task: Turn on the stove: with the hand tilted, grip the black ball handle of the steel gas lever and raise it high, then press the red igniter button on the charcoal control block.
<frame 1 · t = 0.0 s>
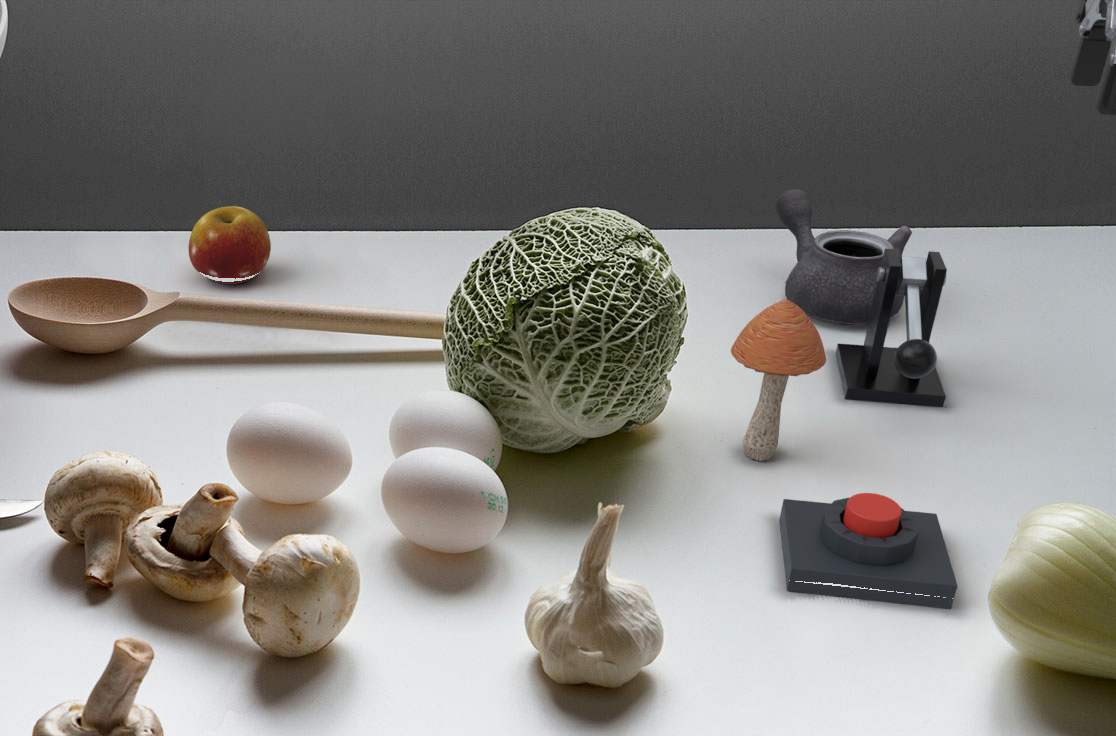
hand: (1096, 98, 106), 30 cm above the table, tool pointing down, fingers open, 8 cm apart
teapot: (827, 297, 146), on the table
mushroom: (760, 454, 117), on the table
gas lever: (913, 318, 120), point 9 cm above the table, hinge at -25.0°
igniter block: (860, 562, 103), on the table
fruit: (231, 279, 152), on the table
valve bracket: (887, 379, 129), on the table
igniter: (872, 515, 100), point 4 cm above the table, slide at 0.1 cm
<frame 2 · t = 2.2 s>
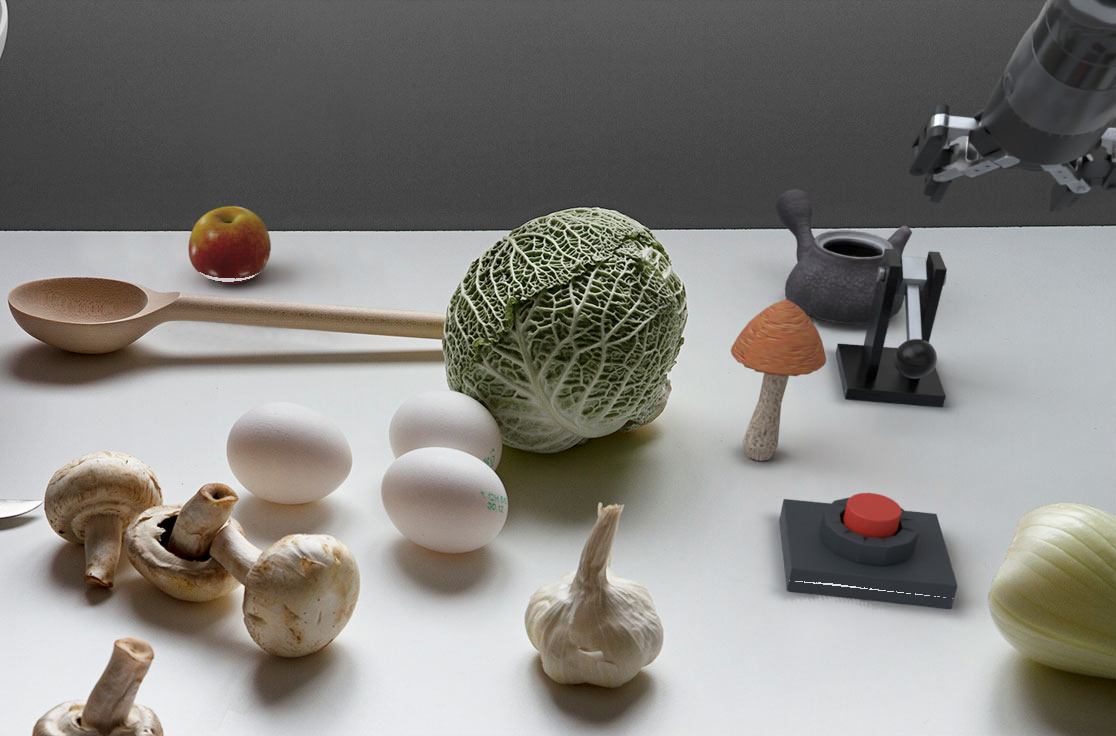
hand: (994, 196, 99), 26 cm above the table, tool tilted 45°, fingers open, 8 cm apart
nothing on the table moved.
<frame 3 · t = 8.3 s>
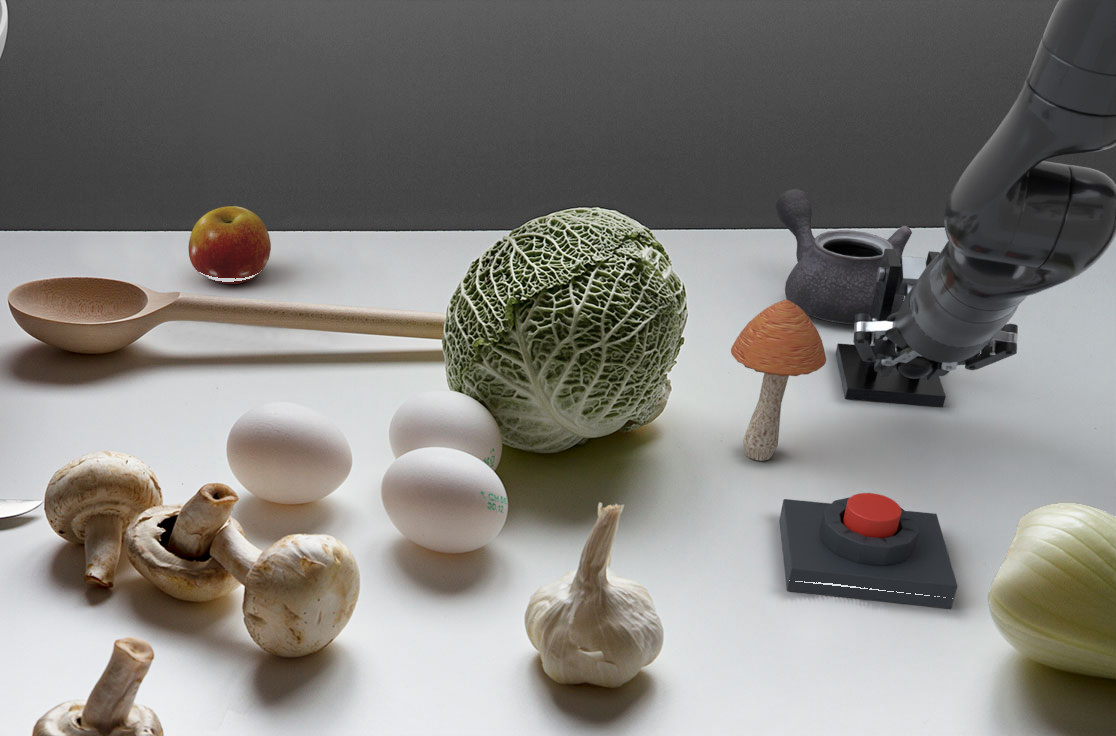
hand: (907, 368, 120), 5 cm above the table, tool tilted 45°, fingers closed on gas lever, 3 cm apart
gas lever: (913, 318, 120), point 9 cm above the table, hinge at -25.0°, touching gripper
everything else where it was.
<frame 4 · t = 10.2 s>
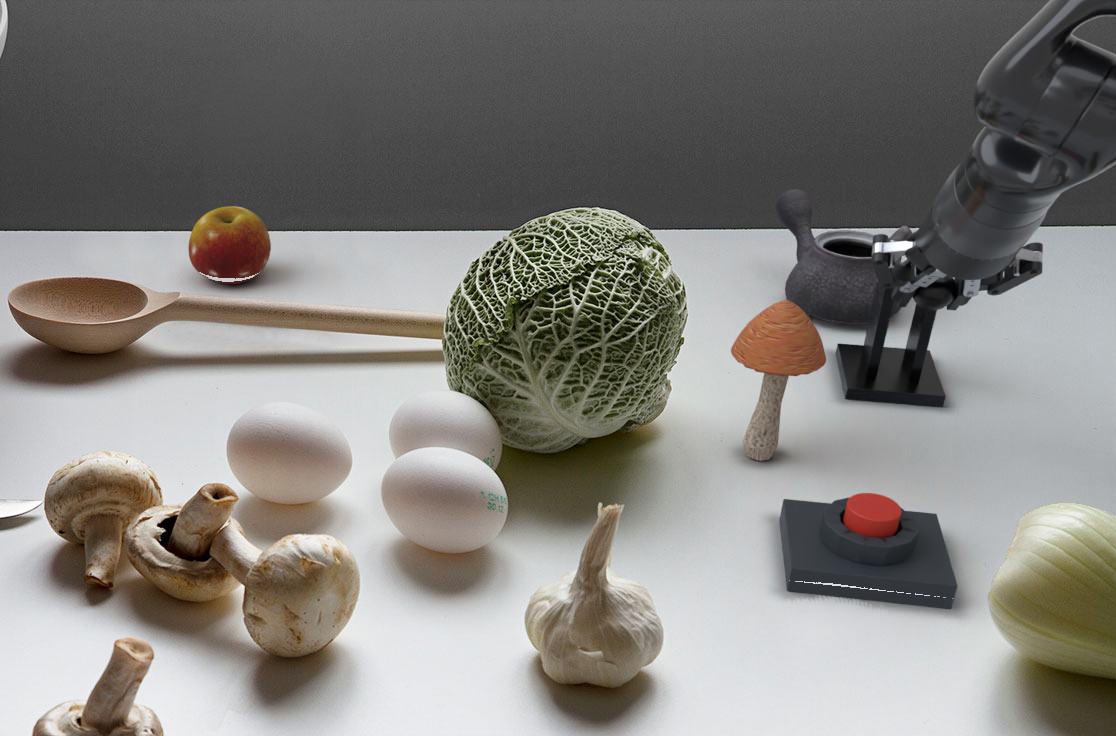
hand: (925, 298, 116), 12 cm above the table, tool tilted 45°, fingers closed on gas lever, 3 cm apart
gas lever: (922, 283, 118), point 12 cm above the table, hinge at 16.3°, touching gripper
everything else where it was.
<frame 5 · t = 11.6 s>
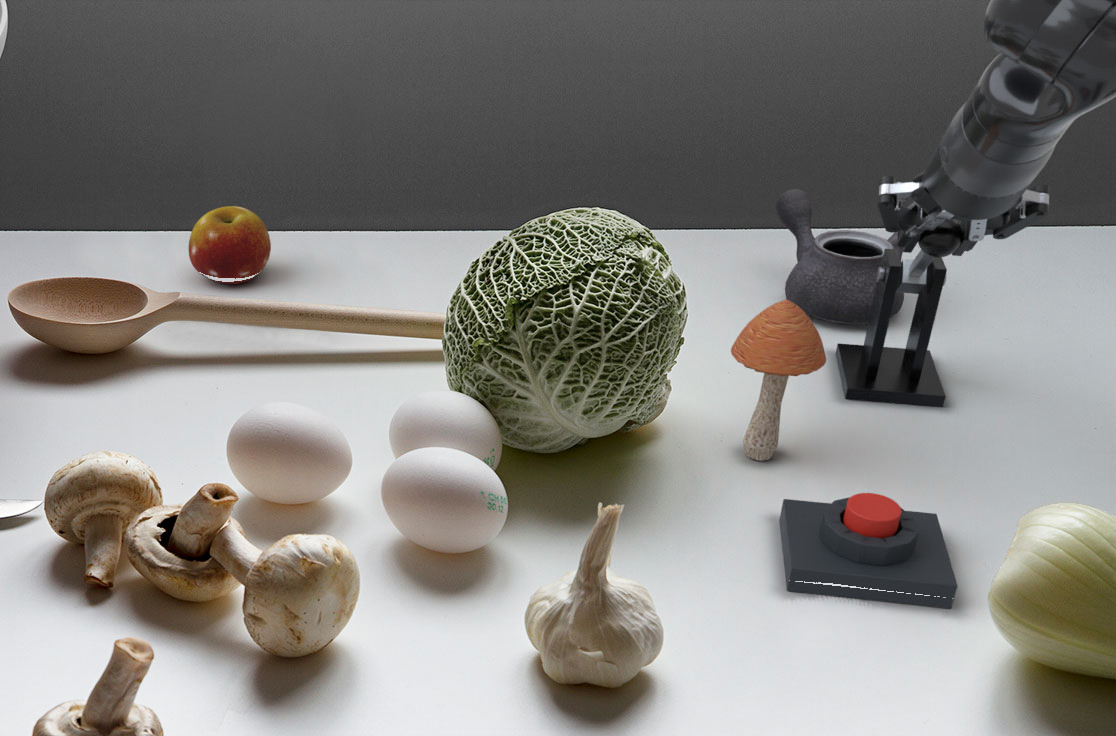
hand: (931, 244, 116), 16 cm above the table, tool tilted 45°, fingers closed on gas lever, 3 cm apart
gas lever: (925, 256, 118), point 15 cm above the table, hinge at 43.0°, touching gripper
everything else where it was.
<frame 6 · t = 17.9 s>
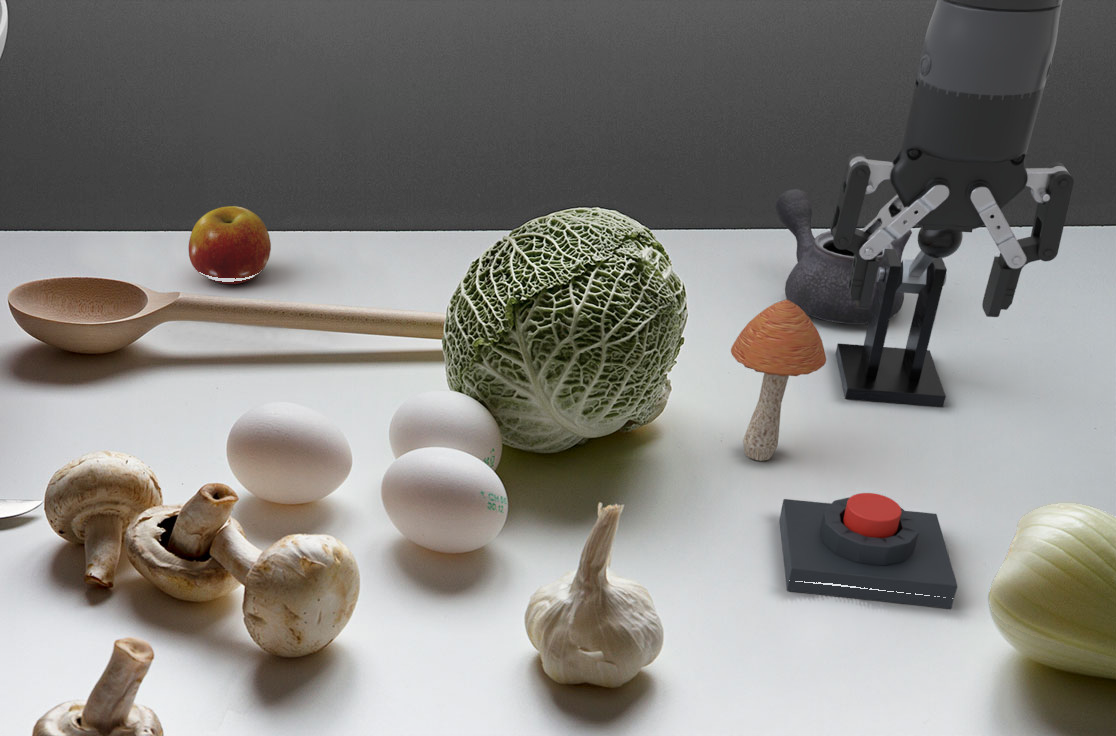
hand: (924, 308, 91), 22 cm above the table, tool pointing down, fingers open, 8 cm apart
gas lever: (925, 257, 118), point 15 cm above the table, hinge at 42.5°
everything else where it was.
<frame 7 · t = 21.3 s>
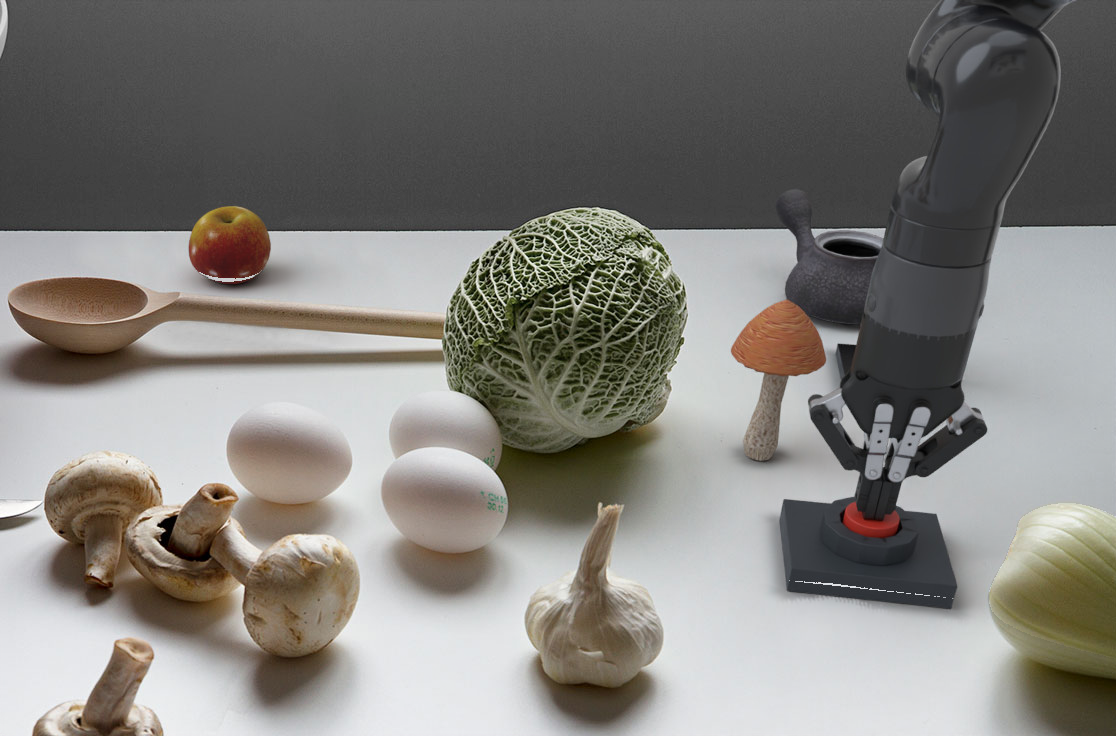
hand: (871, 514, 100), 5 cm above the table, tool pointing down, fingers closed
igniter: (870, 523, 101), point 4 cm above the table, slide at -0.6 cm, touching gripper
everything else where it was.
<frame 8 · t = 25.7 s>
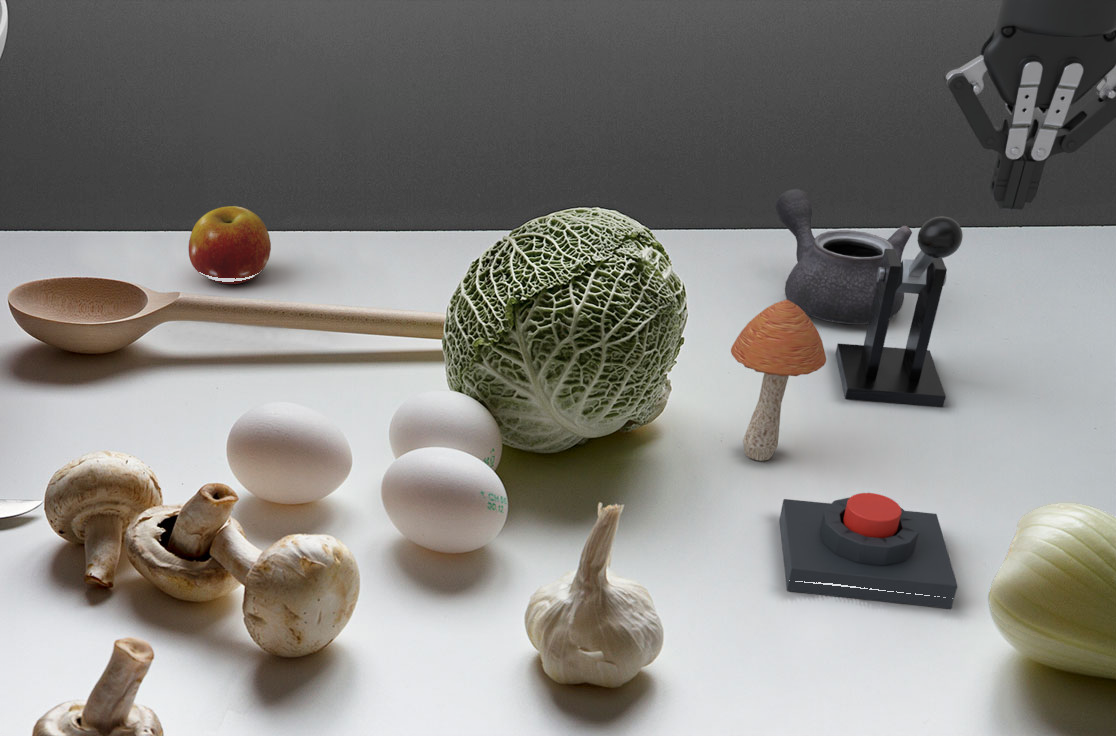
hand: (1008, 205, 94), 27 cm above the table, tool pointing down, fingers closed
igniter: (872, 515, 100), point 4 cm above the table, slide at 0.1 cm
everything else where it was.
at the end: gas lever reached +43° during the clip, +42° at the end; igniter pushed in 1.1 cm at the most during the clip, back to where it started at the end; igniter slide at 0.1 cm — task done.
